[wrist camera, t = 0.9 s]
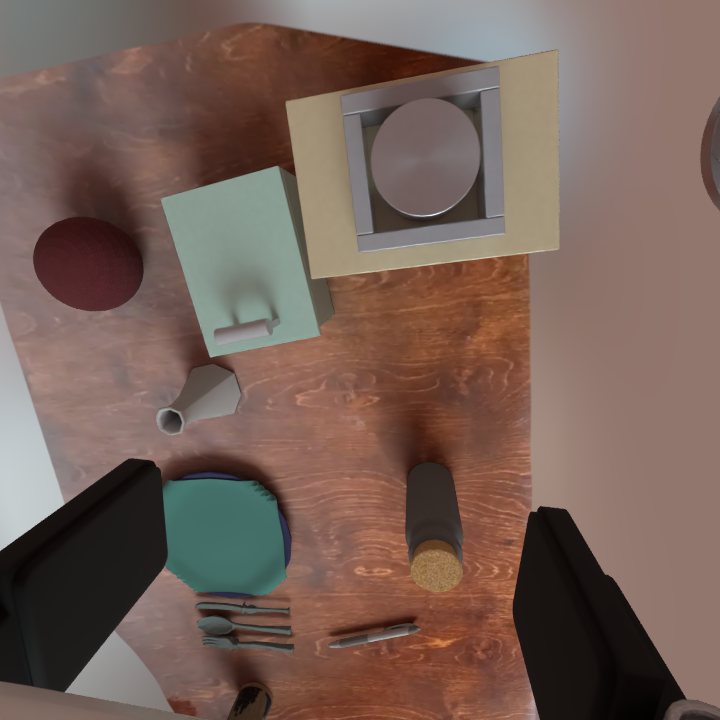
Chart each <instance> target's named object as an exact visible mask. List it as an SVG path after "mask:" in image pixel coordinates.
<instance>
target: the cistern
mask: <svg viewBox="0 0 720 720" xmlns="http://www.w3.org/2000/svg"><path fill="white" fill-rule="evenodd" d="M558 76H559V72H558V50H552V51H546V52H541V53H536V54H530V55H525V56H520V57H515V58H509V59H505V60H499V61H494V62H488V63H483V64H478V65H473V66H467V67H462V68H457V69H452V70H446V71H441V72H436V73H431V74H425V75H420V76H415V77H410V78H404V79H399V80H394V81H389V82H383V83H378V84H373V85H368V86H362V87H357V88H352V89H347V90H342V91H336V92H331V93H326V94H321V95H315V96H310V97H305V98H300V99H294V100H289V101H286V110H287V117H288V124H289V130H290V137H291V144H292V151H293V157H294V164H295V171H296V178H297V184H298V191H299V198H300V205H301V212H302V218H303V225H304V232H305V239H306V245H307V252H308V259H309V266H310V272H311V278H312V279H318V278H327V277H335V276H343V275H351V274H360V273H368V272H376V271H385V270H393V269H401V268H410V267H418V266H426V265H434V264H443V263H451V262H459V261H468V260H476V259H484V258H493V257H501V256H509V255H517V254H526V253H534V252H542V251H551V250H558V249H559V247H560V246H559V93H558V92H559V80H558V78H559V77H558ZM424 98H435V99H440V100H444V101H447V102H450V103H451V104H453V105H455V106H457V107H458V108H459V109H461V110H462V111H463V112H464V113H465V114H466V115H467V116H468V118H469V119H470V120H471V122H472V123H473V125H474V127H475V129H476V132H477V134H478V138H479V142H480V150H481V156H480V166H479V170H478V174H477V176H476V179H475V181H474V183H473V185H472V187H471V189H470V190H469V191H468V193H467V194H466V195H465V197H464V198H463V199H462V200H461V201H460V202H459V203H458V204H457V205H456V206H455V207H454V208H453V209H452V210H451V211H449V212H448V213H446V214H444V215H442V216H440V217H438V218H435V219H431V220H423V221H420V220H412V219H408V218H405V217H403V216H401V215H399V214H397V213H396V212H394V211H393V210H392V209H391V208H390V207H389V206H388V205H387V204H386V203H385V201H384V200H383V198H382V196H381V195H380V193H379V191H378V190H377V188H376V185H375V183H374V180H373V177H372V171H371V151H372V146H373V143H374V139H375V137H376V135H377V132H378V130H379V129H380V127H381V125H382V124H383V123H384V121H385V120H386V119H387V118H388V117H389V116H390V115H391V114H392V113H393V112H394V111H395V110H396V109H398V108H399V107H401V106H403V105H404V104H406V103H409V102H411V101H414V100H418V99H424Z"/></svg>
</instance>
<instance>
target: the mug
mask: <svg viewBox="0 0 720 720" xmlns="http://www.w3.org/2000/svg"><path fill="white" fill-rule="evenodd" d="M272 702H273V696H272V693H271V692H270V690H269V689H268V688H266V687H265V686H263V685H261V684H259V683H247V684H245V685H243V686H242V687H241V689H240V691H239V694H238V696H237V698H236V700H235V702H234V704H233V706H232V709H231V711H230V714H229V716H228V719H227V720H265V719H266V717H267V714H268V712H269V710H270V708H271V705H272Z"/></svg>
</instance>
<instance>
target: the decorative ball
mask: <svg viewBox="0 0 720 720" xmlns="http://www.w3.org/2000/svg"><path fill="white" fill-rule="evenodd" d="M33 262H34V268H35V272H36V274H37V277H38V279H39V280H40V282H41V284H42V285H43V286H44V287H45V289H46V290H47V291H48V292H49V293H50V294H51V295H52V296H53V297H55V298H56V299H57V300H59V301H61V302H62V303H64V304H66V305H68V306H71V307H73V308H76V309H81V310H86V311H106V310H109V309H113V308H116V307H119V306H121V305H122V304H124V303H126V302H127V301H128V300H130V299H131V298H132V297H133V296H134V295H135V293H136V292H137V290H138V289H139V287H140V284H141V282H142V279H143V261H142V257H141V255H140V252H139V250H138V248H137V246H136V245H135V243H134V242H133V241H132V240H131V239H130V237H129V236H128V235H127V234H126V233H124V232H123V231H122V230H121V229H119V228H117V227H116V226H114V225H112V224H110V223H109V222H106V221H103V220H100V219H96V218H90V217H74V218H68V219H65V220H62V221H59V222H56V223H55V224H53V225H52V226H50V227H49V228H47V229H46V230H45V231H44V232H43V233H42V234H41V236H40V237H39V239H38V241H37V243H36V246H35V249H34V255H33Z"/></svg>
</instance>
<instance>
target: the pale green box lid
mask: <svg viewBox="0 0 720 720" xmlns="http://www.w3.org/2000/svg"><path fill="white" fill-rule="evenodd" d="M161 202H162V205H163V208H164V212H165V215H166V218H167V221H168V225H169V228H170V231H171V234H172V237H173V241H174V244H175V247H176V250H177V253H178V257H179V260H180V263H181V266H182V270H183V273H184V276H185V279H186V282H187V286H188V289H189V292H190V295H191V298H192V302H193V305H194V308H195V311H196V315H197V318H198V321H199V324H200V327H201V331H202V334H203V337H204V340H205V343H206V347H207V350H208V353H209V356H210V357H215V356H220V355H225V354H230V353H235V352H240V351H245V350H250V349H255V348H260V347H265V346H270V345H275V344H280V343H286V342H291V341H296V340H301V339H306V338H311V337H316V336H320V335H321V334H322V333H321V329H320V325H319V321H318V317H317V313H316V309H315V305H314V301H313V297H312V292H311V288H310V284H309V280H308V276H307V272H306V268H305V264H304V260H303V256H302V252H301V247H300V243H299V239H298V235H297V231H296V227H295V223H294V219H293V215H292V211H291V207H290V202H289V198H288V194H287V190H286V186H285V182H284V178H283V174H282V170H281V167H280V166H274V167H271V168H267V169H263V170H260V171H256V172H253V173H249V174H245V175H242V176H238V177H235V178H231V179H228V180H224V181H220V182H217V183H213V184H210V185H206V186H203V187H199V188H195V189H192V190H188V191H185V192H181V193H178V194H174V195H170V196H167V197H163V198H161Z"/></svg>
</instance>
